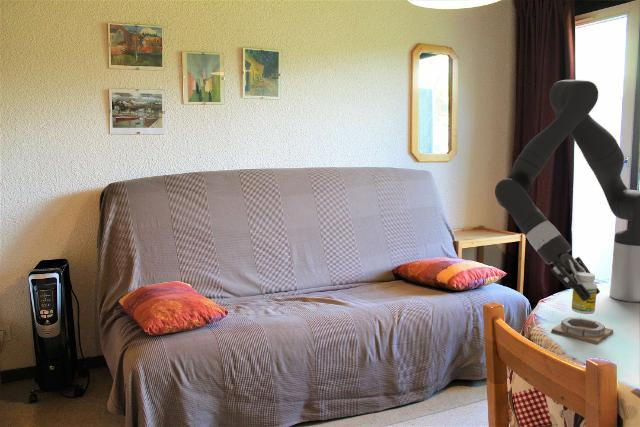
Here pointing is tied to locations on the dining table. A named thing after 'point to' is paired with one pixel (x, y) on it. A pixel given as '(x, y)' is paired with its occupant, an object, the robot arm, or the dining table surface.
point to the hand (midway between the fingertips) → (592, 296)
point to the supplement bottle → (591, 287)
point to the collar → (583, 329)
